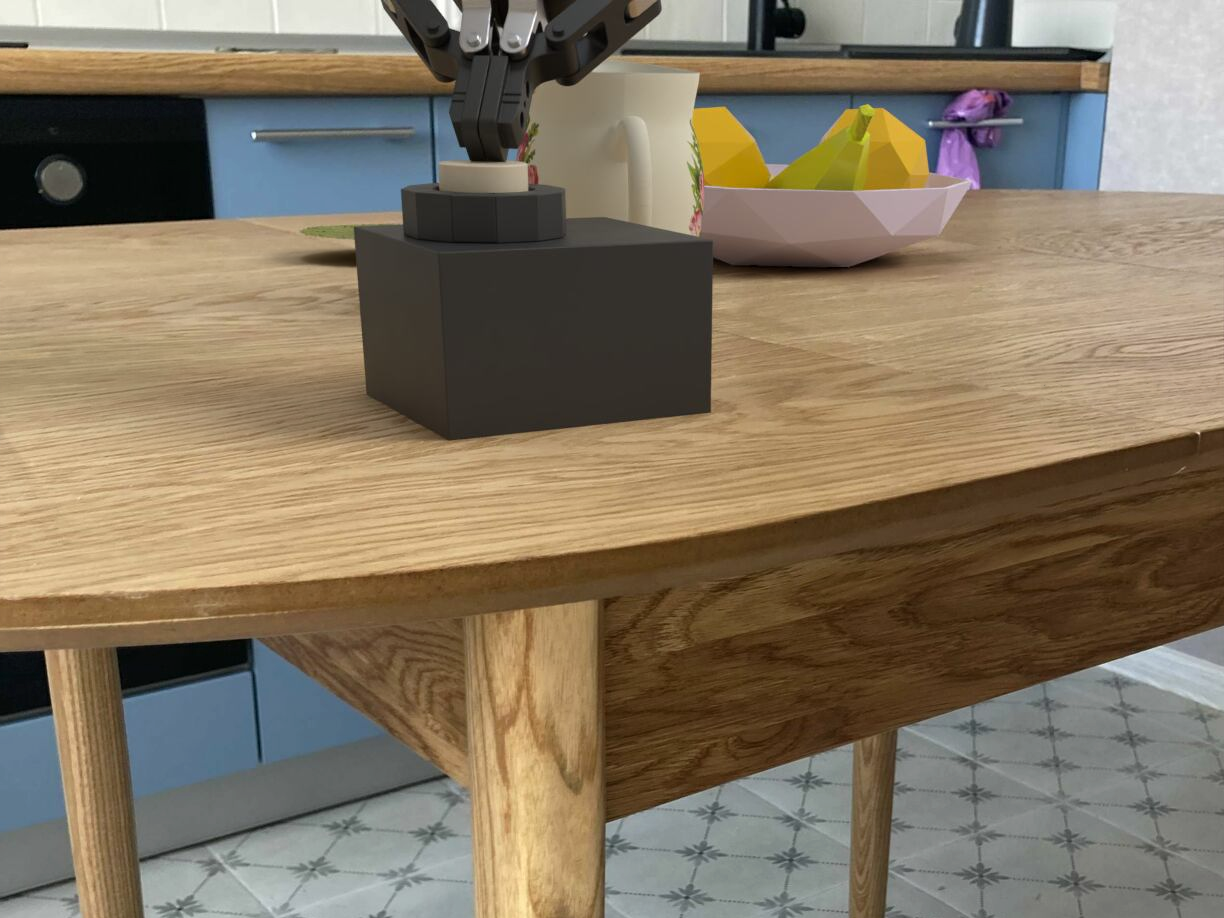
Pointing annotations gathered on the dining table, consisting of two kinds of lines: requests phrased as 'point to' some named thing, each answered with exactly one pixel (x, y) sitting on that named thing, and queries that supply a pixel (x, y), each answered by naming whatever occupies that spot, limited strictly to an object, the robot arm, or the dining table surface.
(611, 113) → the pitcher
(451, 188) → the lid button
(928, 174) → the fruit bowl
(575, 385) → the base
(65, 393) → the dining table surface
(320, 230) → the mat
